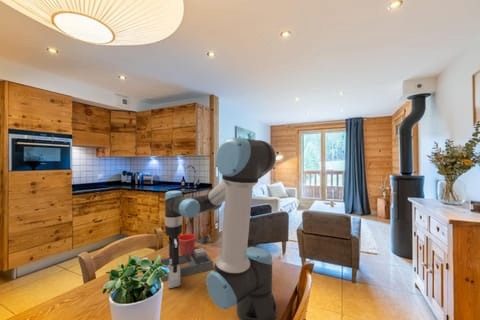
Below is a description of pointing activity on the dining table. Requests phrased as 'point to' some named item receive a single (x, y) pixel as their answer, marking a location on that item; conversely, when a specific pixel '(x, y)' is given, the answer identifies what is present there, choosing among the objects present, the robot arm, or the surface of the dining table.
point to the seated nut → (199, 255)
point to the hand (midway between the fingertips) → (173, 275)
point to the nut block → (176, 281)
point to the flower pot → (186, 243)
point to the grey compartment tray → (190, 265)
